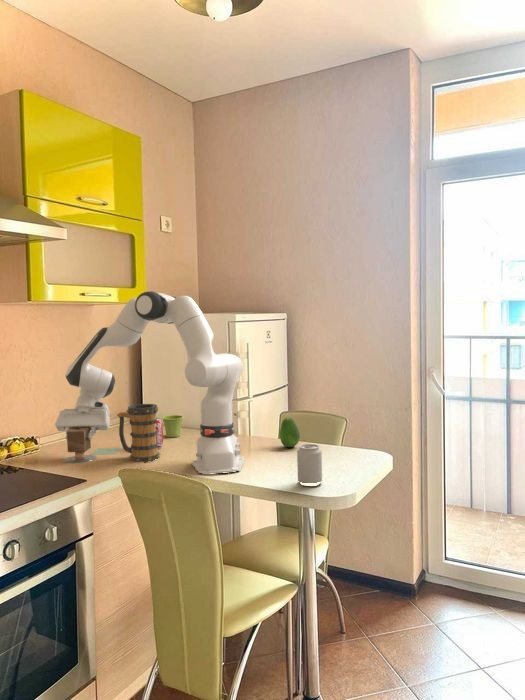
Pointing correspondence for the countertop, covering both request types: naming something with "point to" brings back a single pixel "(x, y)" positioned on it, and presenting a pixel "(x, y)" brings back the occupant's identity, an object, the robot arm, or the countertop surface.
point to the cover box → (78, 439)
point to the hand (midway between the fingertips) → (78, 438)
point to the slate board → (72, 460)
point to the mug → (141, 432)
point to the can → (309, 463)
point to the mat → (105, 451)
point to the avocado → (289, 433)
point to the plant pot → (173, 425)
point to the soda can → (159, 433)
